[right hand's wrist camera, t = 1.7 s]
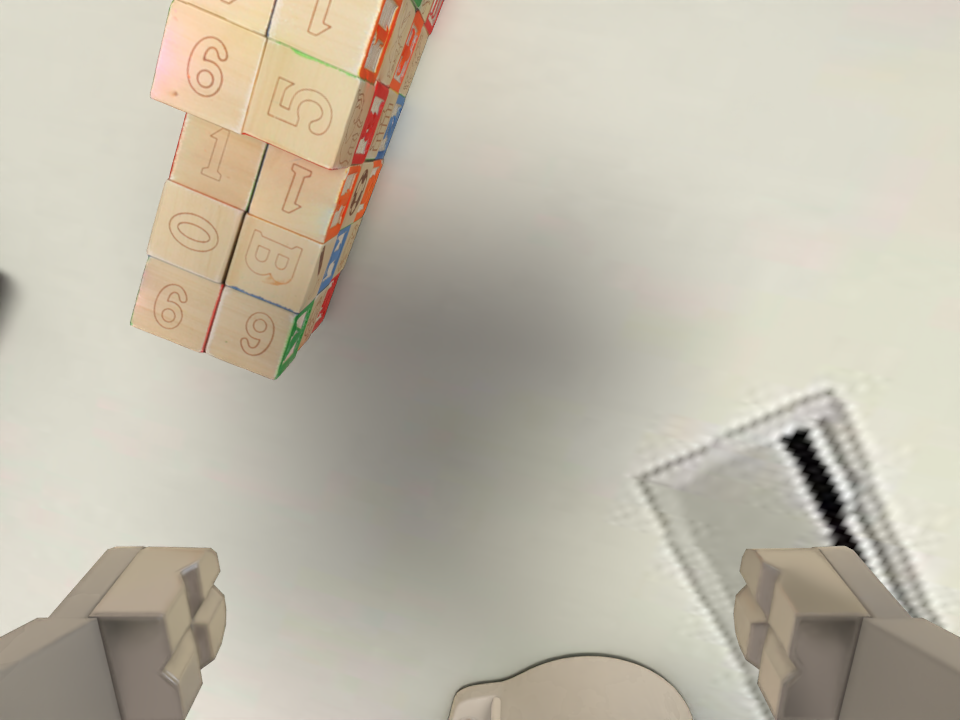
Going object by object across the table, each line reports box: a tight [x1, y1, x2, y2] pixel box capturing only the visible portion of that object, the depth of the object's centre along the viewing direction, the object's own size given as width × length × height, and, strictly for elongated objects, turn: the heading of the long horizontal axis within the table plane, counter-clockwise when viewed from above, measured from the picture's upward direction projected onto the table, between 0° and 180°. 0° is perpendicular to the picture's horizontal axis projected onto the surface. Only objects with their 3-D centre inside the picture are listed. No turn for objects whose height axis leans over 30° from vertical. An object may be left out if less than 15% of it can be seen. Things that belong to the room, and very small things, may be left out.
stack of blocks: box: [130, 0, 444, 380], centre depth 27 cm, size 21×6×12 cm, turn 157°
